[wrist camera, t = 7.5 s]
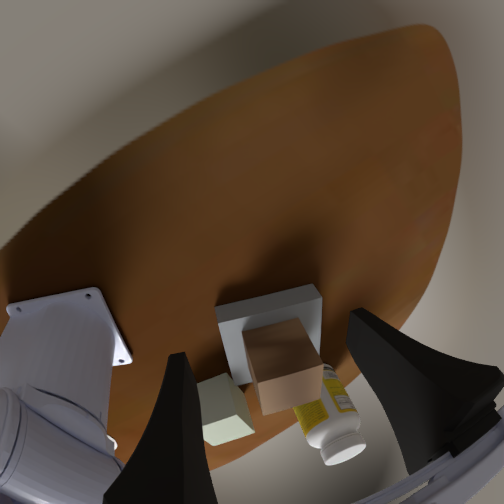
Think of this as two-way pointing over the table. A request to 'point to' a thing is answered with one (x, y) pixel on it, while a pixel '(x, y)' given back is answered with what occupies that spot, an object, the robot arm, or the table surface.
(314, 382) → the walnut block
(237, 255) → the table surface
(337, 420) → the supplement bottle
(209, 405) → the sage block
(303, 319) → the slate slab
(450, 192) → the table surface
